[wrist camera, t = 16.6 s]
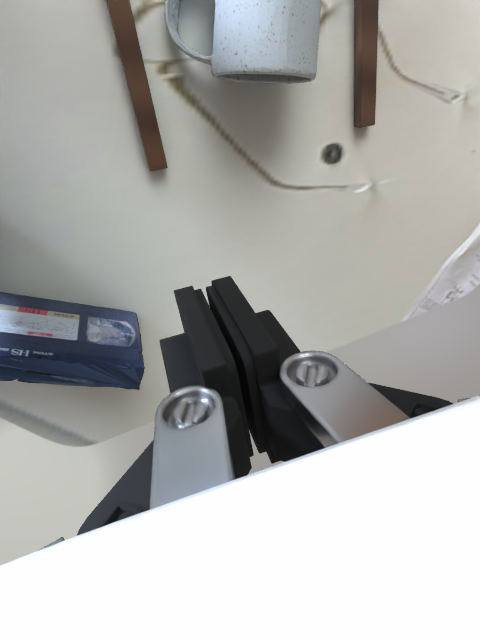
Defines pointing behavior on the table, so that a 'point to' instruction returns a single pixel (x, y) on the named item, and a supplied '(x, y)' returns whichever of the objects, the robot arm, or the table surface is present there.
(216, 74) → the ceramic mug
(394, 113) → the table surface
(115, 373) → the vhs cassette tape
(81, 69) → the table surface
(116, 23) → the walnut frame
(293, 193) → the table surface
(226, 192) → the table surface
